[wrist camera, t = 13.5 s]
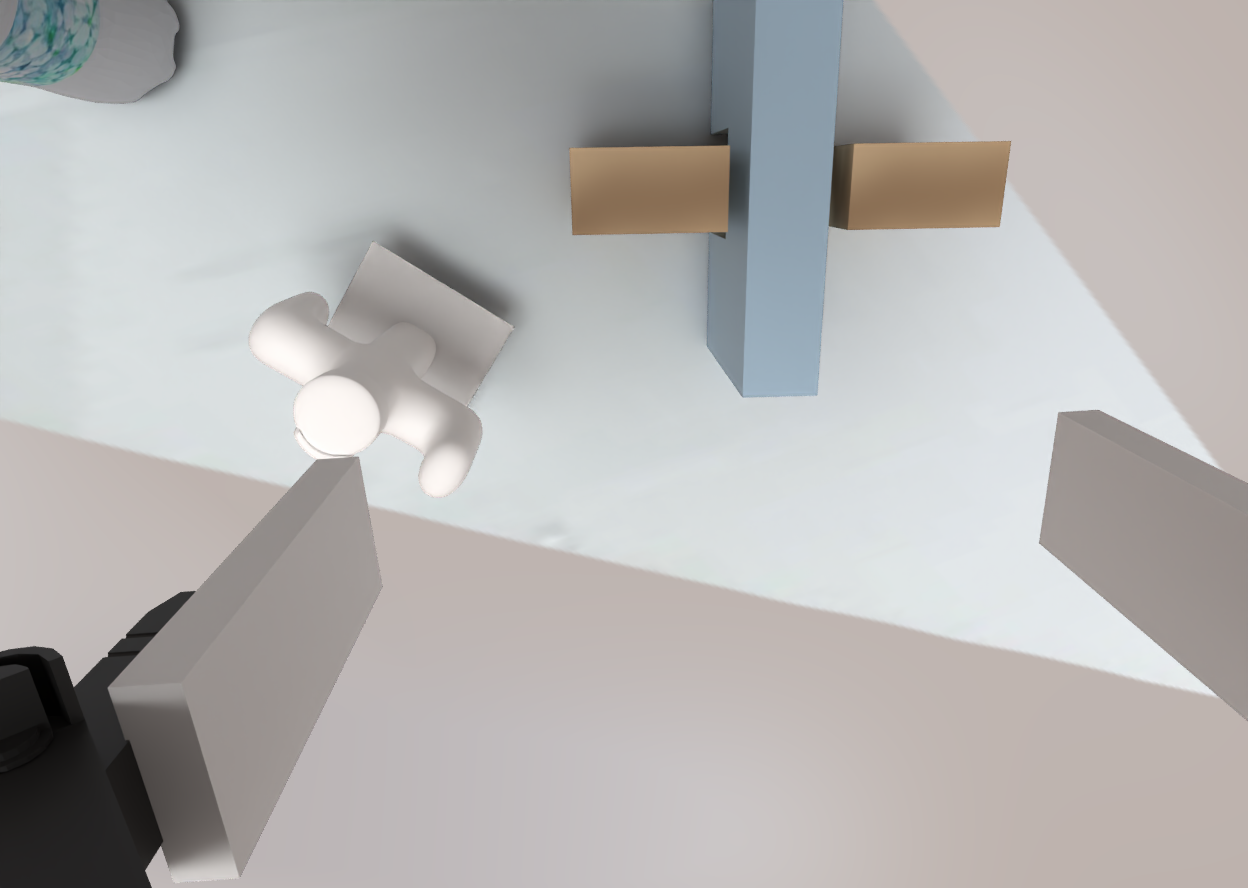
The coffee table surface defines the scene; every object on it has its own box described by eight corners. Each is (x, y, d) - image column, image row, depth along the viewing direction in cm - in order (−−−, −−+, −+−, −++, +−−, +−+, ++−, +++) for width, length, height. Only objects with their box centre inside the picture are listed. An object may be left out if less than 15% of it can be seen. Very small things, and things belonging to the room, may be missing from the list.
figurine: (372, 222, 38) (240, 248, 24) (540, 325, 40) (512, 407, 25) (307, 346, 40) (148, 440, 25) (470, 439, 41) (408, 574, 27)
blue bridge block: (713, -3, 35) (758, -70, 26) (778, -3, 35) (848, -70, 26) (706, 346, 40) (742, 397, 31) (764, 345, 40) (817, 395, 31)
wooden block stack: (575, 156, 37) (569, 147, 28) (905, 151, 38) (1011, 141, 28) (577, 221, 38) (572, 234, 29) (899, 215, 39) (999, 227, 29)
